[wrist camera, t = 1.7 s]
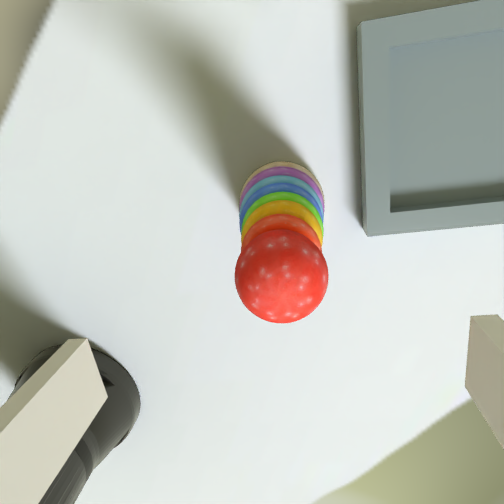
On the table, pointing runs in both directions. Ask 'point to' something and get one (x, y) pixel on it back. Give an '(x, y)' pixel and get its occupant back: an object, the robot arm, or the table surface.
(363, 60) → the gray square tray
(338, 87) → the table surface
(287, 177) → the stacking toy
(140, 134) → the table surface
